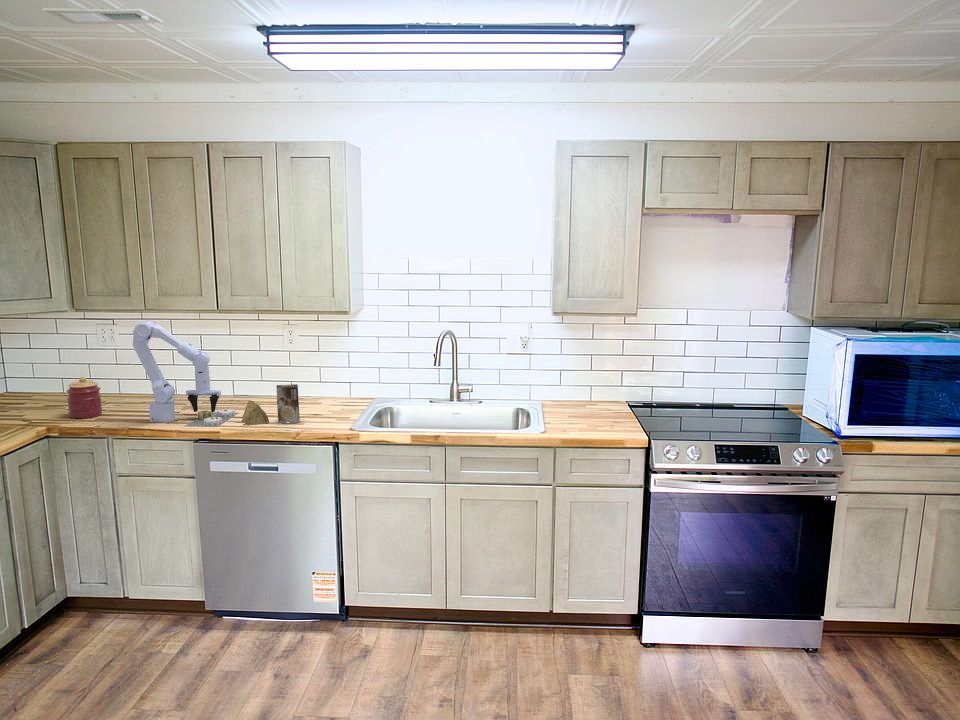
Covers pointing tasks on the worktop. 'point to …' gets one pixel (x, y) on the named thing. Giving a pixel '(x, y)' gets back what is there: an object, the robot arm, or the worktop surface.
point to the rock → (254, 414)
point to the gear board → (201, 422)
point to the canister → (84, 399)
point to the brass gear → (204, 415)
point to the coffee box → (288, 403)
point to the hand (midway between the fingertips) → (204, 411)
